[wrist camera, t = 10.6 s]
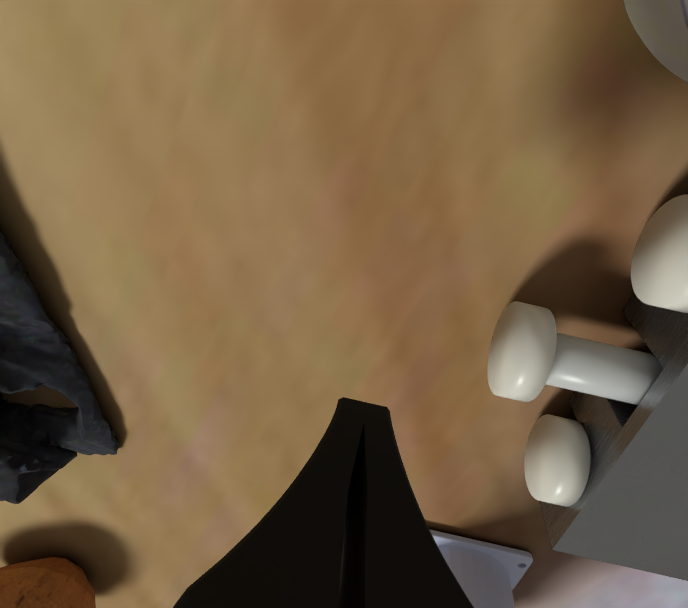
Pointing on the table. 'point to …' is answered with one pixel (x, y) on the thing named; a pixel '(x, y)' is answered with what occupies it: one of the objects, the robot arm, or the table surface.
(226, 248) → the table surface
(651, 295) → the knob
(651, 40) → the teacup
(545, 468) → the knob
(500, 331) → the knob middle
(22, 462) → the black cloth
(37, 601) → the potato
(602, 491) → the rack
